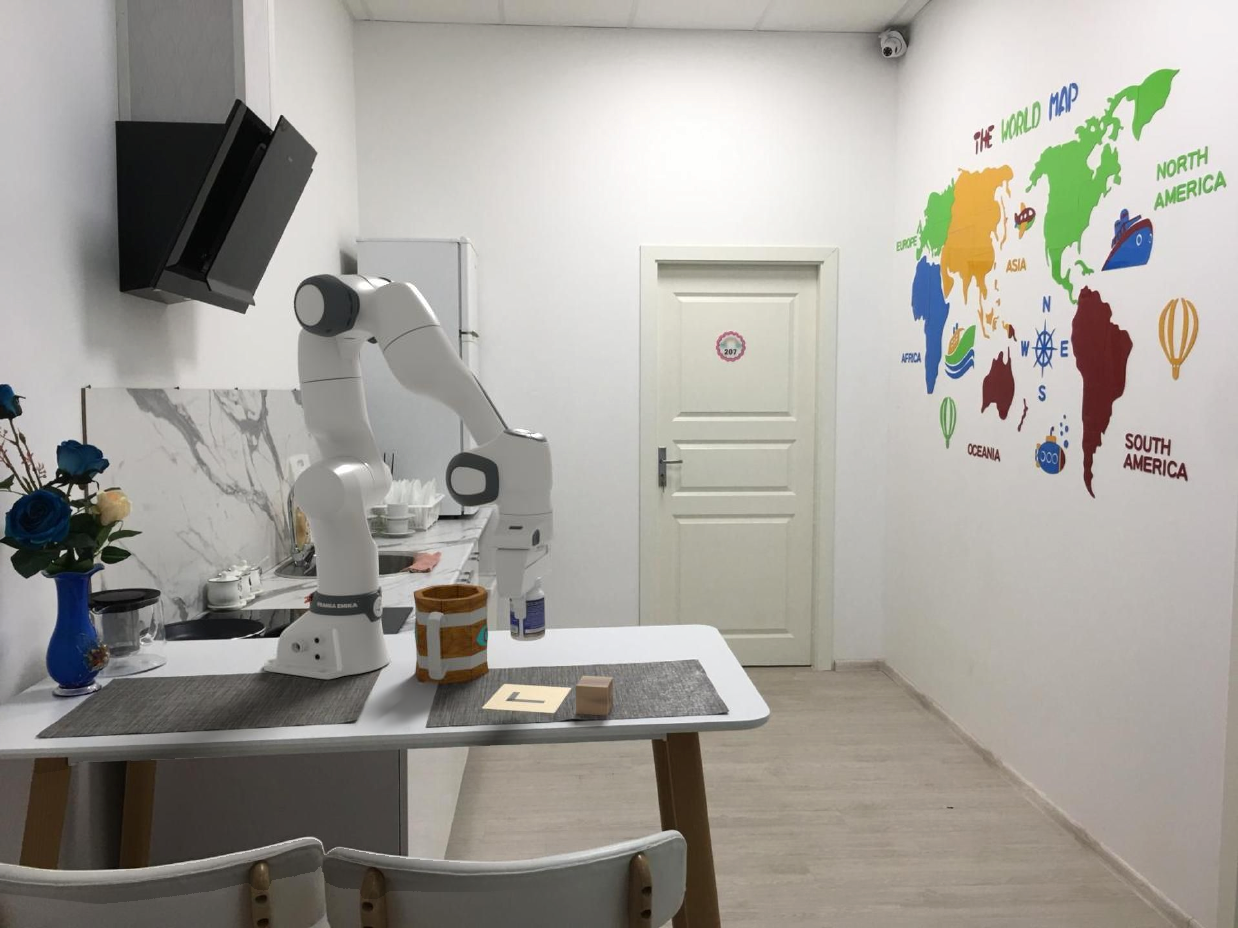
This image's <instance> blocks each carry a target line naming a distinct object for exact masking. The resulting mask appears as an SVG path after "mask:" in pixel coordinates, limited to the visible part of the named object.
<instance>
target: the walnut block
mask: <svg viewBox="0 0 1238 928" xmlns="http://www.w3.org/2000/svg"><path fill="white" fill-rule="evenodd" d="M613 705H614V677H613V676H598V675H597V676H595V675H582V676H581V678H580V679H579V680H578V681H577V683H576V685H575V714H576V715H577V714H579V715H593V716H594V715H595V716H608V715H609V713H610V711H611V709H612V707H613Z"/></svg>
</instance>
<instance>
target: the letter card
mask: <svg viewBox="0 0 1238 928" xmlns="http://www.w3.org/2000/svg"><path fill="white" fill-rule="evenodd" d="M571 690H572V687H566V686H565V687H563V686H562V687H561V686H560V687H559V686H546V685H531V684H529V685H527V684H515V683H514V684H511V683H503V685H502V686H500V687H499V688H498V690H497V691H496V692H495V693H494V694H493V695H492V696H491V697H490V699H489V700H487V702H486V703H485V704H484V705H483V706H482V707H481V709H484V710H499V711H500V710H501V711H512V712H513V711H514V712H526V713H528V712H529V713H530V712H532V713H542V714H543V713H544V714H545V713H547V714H555V713H556V711H557V710H558V709H559V708H560V706H561V705H562V703H563V701H564V700H565V698H566V697H567V695H568V694H569V693H570V691H571Z"/></svg>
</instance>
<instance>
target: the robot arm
mask: <svg viewBox="0 0 1238 928" xmlns="http://www.w3.org/2000/svg"><path fill="white" fill-rule="evenodd" d="M293 309H294V315H295V318H296V321H297V322H298V324H299V325H300V327H301V328H302V329H301V330H300V332H299V334H298V340H297V342H298V343H297V371H298V372H297V373H298V381H299V382H298V383H299V390H300V397H301V403H302V411H303V418H304V424H305V427H306V429H307V430H308V432H309V433H310V434H311V435H312V437H313V438H314V440H315V442H316V445H317V447H318V450H319V453H320V455H321V458H322V459H321V460H318V461H316V462H314V463H312V464H311V465H310V466H308V467H307V468H305V470H303V471H302V472H301V473H300V474H299V475H298V476H297V478H296V479H295V481H294V485H293V497H294V501H295V505H296V506H297V508H298V509H299V510H300V512H301V513H302V514H304V516H305V518H306V521H307V523H308V527H309V531H310V532H311V536H312V540H313V541H312V542H313V546H314V551H315V563H316V564H315V566H316V590H314V591H313V592H311V593H309V594H308V595H307V596H305V597H303V599H305V600H304V602H303V603H304V604H307V603H309V607H308V610H307V611H306V612H305V613H303V614H302V615H301V616H300V617H298V618H297V619H296V620H295V621H293V622H292V623H291V624H289V626H287V627H286V628H285V629H284V630H283V631H282V632H281V634H280V636H279V638H278V641H277V647H276V653H275V654H273V655H272V656H270V657H269V658H267V659H266V660H265V661H264V665H263V670H264V671H266V672H271V673H280V674H286V675H293V676H298V677H299V676H301V677H307V678H313V679H314V678H315V679H320V680H332V679H337V678H340V677H344V676H350V675H358V674H363V673H367V672H372V671H375V670H378V669H380V668H383V667H385V666H386V665H388V664H389V663H390V661H391V657H390V654H389V652H388V649H387V645H386V642H385V641H386V640H385V636H384V630H383V625H382V624H383V623H382V617H383V591H382V590H383V589H382V587H381V586H380V574H379V573H380V571H379V570H380V567H379V547H378V544H377V543H376V541H375V540H374V538H373V537H372V533H371V530H370V526H369V523H368V519H367V518H368V517H367V510H370V509H373V508H374V507H376V506H378V505H379V504H380V503H381V502H382V501H383V500H384V499H385V498H386V497H387V495H388V494H389V492H390V490H391V488H392V482H393V481H392V480H393V479H392V474H391V470H390V468H389V467H388V465H387V464H386V462H385V461H383V458H382V456H381V453H380V450H379V447H378V445H377V442H376V439H375V436H374V433H373V429H372V427H371V424H370V419H369V413H368V408H367V401H366V394H365V388H364V387H365V385H364V380H363V373H362V367H361V366H362V365H361V359H360V353H361V349H362V347H363V345H364V344H365V342H368V343H370V344H372V345H375V344H377V345H378V347H379V349H380V351H381V353H382V356H383V357H384V360H385V362H386V364H387V366H388V368H389V370H390V371H391V373H392V375H393V376H394V378H395V379H396V380H397V381H398V382H399V384H400V385H401V386H402V387H403V388H404V389H406V390H407V391H409V392H411V393H413V394H415V395H418V396H422V397H425V398H427V399H430V400H433V401H435V402H437V403H438V404H439V403H440V404H441V405H444V406H446V407H447V408H449V409H450V410H451V411H453V412H454V413H455V414H456V415H457V416H458V417H459V419H461V422H462V423H463V424H464V426H465V427H466V430H468V433H469V434H470V435H471V438H472V439H473V440H474V442H475V444H476V446H477V447H474V448H471V449H468V450H464V451H462V452H459V453H457V454H455V455H454V456H453V457H452V458H451V459H450V461H449V462H448V465H447V467H446V472H445V485H446V488H447V490H448V493H449V495H450V496H451V498H452V499H453V500H454V501H455V502H456V503H457V504H459V505H460V506H463V507H467V508H480V507H487V506H493V505H494V506H495V505H496V506H497V509H498V521H497V526H496V528H495V530H494V532H493V533H492V535H491V547H492V548H493V549H495V555H494V557H495V558H494V562H495V579H496V580H495V581H496V589H497V592H498V594H499V597H500V598H506V599H510V598H511V599H512V603H513V606H514V611H515V618H516V619H524V618H526V617H527V615H528V606H526V599H525V598H526V593H527V592H528V591H529V590H530V589H531V588H533V587H534V586H535V580H536V579H537V578H538V577H541V585H540V589H541V590H542V585H543V584H542V583H543V580H544V579H545V578H546V577H548V576H549V575H550V574H551V573H552V568H553V555H552V553H553V552H552V542H551V541H552V540H553V539H554V507H553V503H552V499H551V492H552V488H553V463H552V461H553V460H552V452H551V448H550V445H549V441H548V439H547V437H546V436H544V435H543V434H542V433H540V432H538V431H534V430H530V429H520V428H509V427H508V426H507V424H506V422H505V421H504V418H503V417H502V415H501V414H500V412H499V411H498V409H497V408H496V405H495V404H494V403H493V401H492V400H491V398H490V396H489V395H488V393H487V392H486V390H485V389H484V387H483V386H482V383H480V381H479V380H478V378H477V377H476V376H475V375H474V373H473V372H472V371H471V370H470V368H468V366H467V365H466V363H464V361H463V360H462V359H461V357H460V356H459V354H458V352H457V351H456V349H455V348H454V346H453V345H452V343H451V341H450V339H449V337H448V335H447V334H446V332H445V329H444V328H443V326H442V324H441V323H440V320H439V318H438V317H437V315H436V313H435V312H434V310H433V309H432V307H431V306H430V304H429V303H428V301H427V300H426V298H425V297H424V296H423V294H422V293H421V292H420V290H418V288H417V287H416V286H415V285H413V284H412V283H409V282H407V281H402V280H401V281H400V280H399V281H398V280H397V281H395V280H392V279H390V278H386V277H382V276H380V277H375V276H371V275H367V274H359V273H358V274H357V273H354V274H353V273H352V274H333V275H332V274H329V273H328V274H327V273H323V274H317V275H312V276H309V277H307V278H305V279H303V280H302V281H301V282H300V283H299V285H298V286H297V288H296V291H295V293H294V299H293Z"/></svg>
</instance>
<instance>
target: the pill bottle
mask: <svg viewBox="0 0 1238 928" xmlns="http://www.w3.org/2000/svg"><path fill="white" fill-rule="evenodd" d="M540 585H541V577H538V578H537V579H536V580H535V586H534V587H533V588H531V589H530V590H529V591H528V592H527V593H526V598H525V599H526V606H528V615H527V617H526V618H524V619H516V618H515V611H514V606H513V603H512V599H511V598H509V627H510V638H511V639H513V640H515V641H519V642H534V641H537V640H538V641H539V640H541V639H543V638H544V637H545V635H546V621H545V620H546V612H545V607H546V605H545V592H544V591H543V590H542V588H541V589H540ZM541 586H542V585H541Z"/></svg>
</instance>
